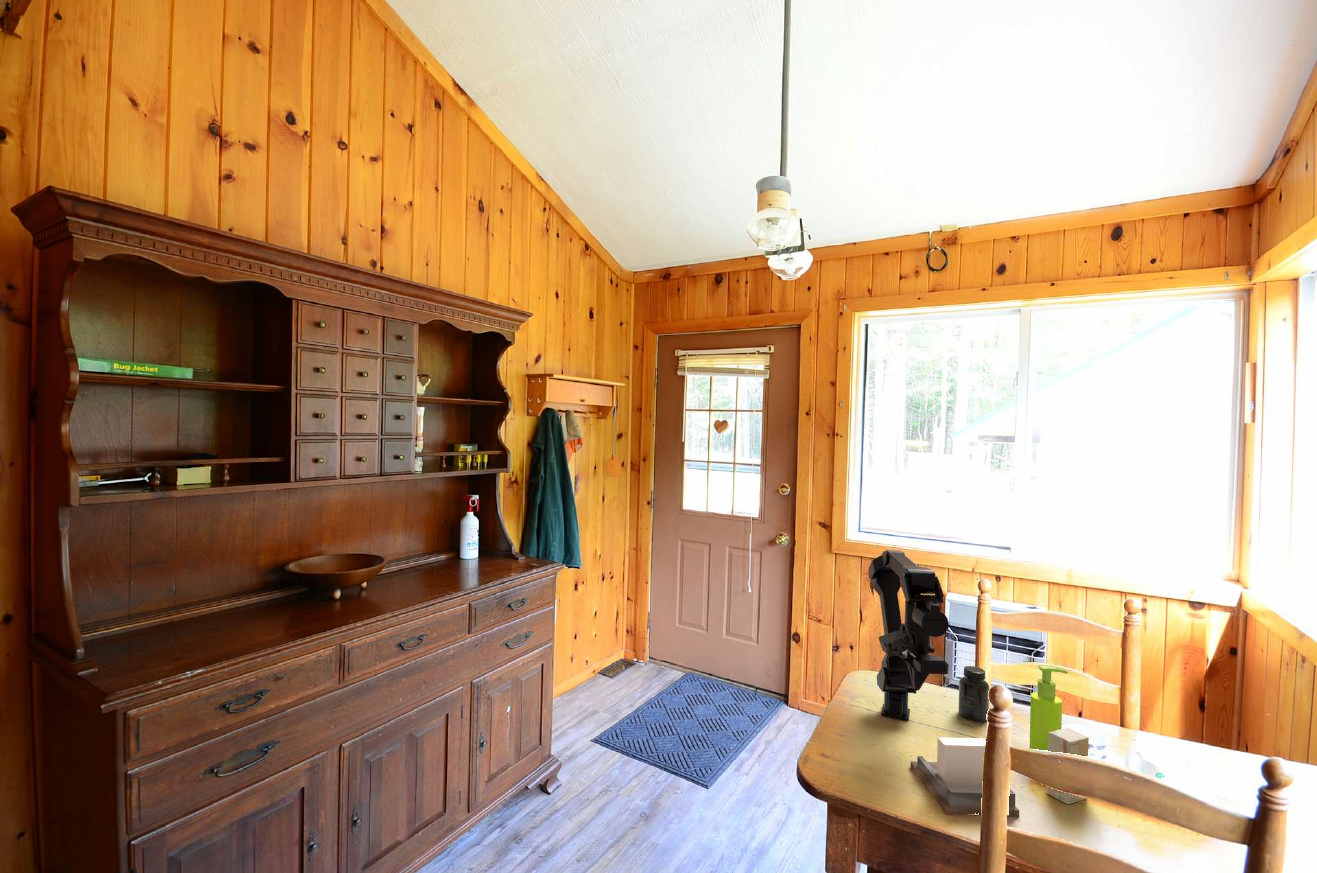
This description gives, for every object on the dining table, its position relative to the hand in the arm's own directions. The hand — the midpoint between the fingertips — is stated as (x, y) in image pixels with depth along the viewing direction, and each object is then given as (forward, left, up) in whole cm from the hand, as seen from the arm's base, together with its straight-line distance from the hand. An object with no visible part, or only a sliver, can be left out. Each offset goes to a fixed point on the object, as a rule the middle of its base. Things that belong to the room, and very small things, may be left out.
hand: (916, 689), depth 138 cm
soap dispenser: (-7, +27, -12) cm, 30 cm away
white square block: (+17, +9, -11) cm, 22 cm away
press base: (+17, +9, -12) cm, 23 cm away
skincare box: (+9, +28, -12) cm, 32 cm away
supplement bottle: (-21, +13, -12) cm, 28 cm away
